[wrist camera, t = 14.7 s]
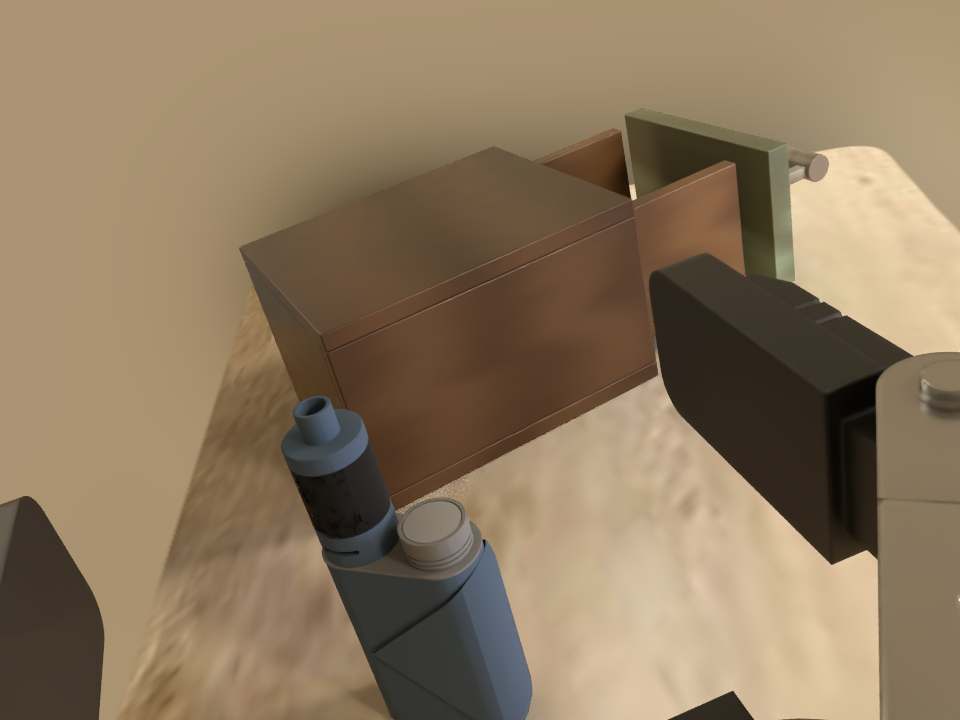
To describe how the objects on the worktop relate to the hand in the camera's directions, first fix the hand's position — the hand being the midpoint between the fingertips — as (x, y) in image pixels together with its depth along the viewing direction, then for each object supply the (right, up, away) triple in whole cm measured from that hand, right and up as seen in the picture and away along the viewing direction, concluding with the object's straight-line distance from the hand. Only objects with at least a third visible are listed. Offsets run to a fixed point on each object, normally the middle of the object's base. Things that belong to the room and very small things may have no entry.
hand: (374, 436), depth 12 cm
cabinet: (+1, 0, +35) cm, 35 cm away
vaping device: (+1, -11, +19) cm, 22 cm away
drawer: (+11, +5, +38) cm, 40 cm away
